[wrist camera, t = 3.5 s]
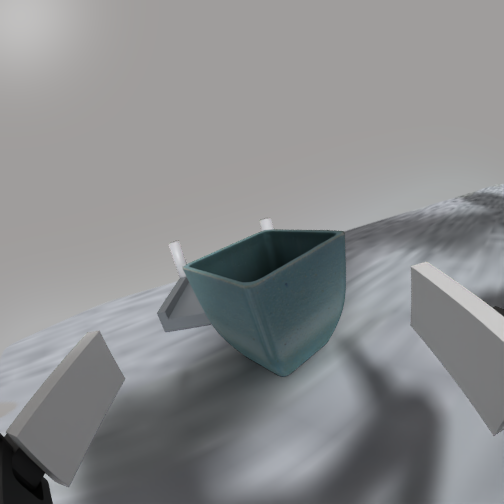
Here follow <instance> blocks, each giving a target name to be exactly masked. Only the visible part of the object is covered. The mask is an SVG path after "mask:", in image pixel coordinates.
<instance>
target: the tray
mask: <svg viewBox="0 0 504 504" xmlns="http://www.w3.org/2000/svg"><path fill="white" fill-rule="evenodd" d="M259 222H260V226H261V230H262V231H264V230H270V229H273V225H272V221H271V218H264V219H261V220H259ZM169 247H170V251H171V254H172V256H173V260H174V262H175V265H176V268H177V271H178V274H179V277H180V279H179V280H178V282H177V283H176V285H175V286H174V288H173V289H172V291H171V292H170V294H169V295H168V297H167V298H166V300H165V302H164V303H163V305H162V306H161V308H160V309H159V311H158V312H157V314H158V317H159V319H160V321H161V324H162V326H163V328H164V330H165V332H168V331H175V330H181V329H187V328H193V327H199V326H205V325H210V324H211V322H210V321H209V319H208V318H207V316H206V314H205V312H204V310H203V309H202V307H201V305H200V303H199V301H198V299H197V297H196V295H195V293H194V291H193V289H192V287H191V285H190V283H189V281H188V279H187V277H186V275H185V272H184V271H183V268H182V267H183V266H185V265H187V264H186V260H185V257H184V254H183V251H182V248H181V245H180V242H179V240H178V241H174V242H171V243H169Z"/></svg>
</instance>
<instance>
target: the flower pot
mask: <svg viewBox="0 0 504 504" xmlns="http://www.w3.org/2000/svg"><path fill="white" fill-rule="evenodd" d="M182 268H183V271H184V272H185V275H186V277H187V279H188V281H189V283H190V285H191V287H192V289H193V291H194V293H195V295H196V297H197V299H198V301H199V303H200V305H201V307H202V309H203V310H204V312H205V314H206V316H207V318H208V319H209V321H210V322H211V324H212V325H213V326H214V328H215V329H216V330H217V331H218V333H219V334H220V335H221V336H222V337H223V338H224V339H225V340H226V341H227V342H228V343H229V344H230V345H232V346H233V347H234V348H235V349H237V350H238V351H239V352H241V353H242V354H243V355H245V356H246V357H248V358H249V359H251V360H253V361H254V362H256V363H258V364H260V365H262V366H263V367H265V368H267V369H268V370H270V371H272V372H273V373H275V374H277V375H279V376H282V377H284V376H288V375H289V374H291V373H292V372H293V371H294V370H296V369H297V368H298V367H299V366H300V365H302V364H303V363H304V362H305V361H306V360H307V359H309V358H310V357H311V356H312V355H313V354H315V353H316V352H317V351H318V350H319V349H321V348H322V347H323V346H324V345H325V344H326V343H327V342H328V340H329V339H330V337H331V335H332V333H333V332H334V330H335V328H336V326H337V323H338V321H339V319H340V316H341V313H342V309H343V305H344V300H345V291H346V259H345V233H344V232H343V231H330V230H277V229H276V230H275V229H270V230H264V231H261V232H259V233H256V234H254V235H252V236H249V237H247V238H245V239H243V240H240V241H238V242H236V243H233V244H231V245H229V246H227V247H224V248H222V249H220V250H218V251H216V252H213V253H211V254H209V255H207V256H204V257H202V258H200V259H198V260H195V261H193V262H191V263H189V264H187V265H185V266H183V267H182Z"/></svg>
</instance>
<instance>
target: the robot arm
mask: <svg viewBox="0 0 504 504" xmlns="http://www.w3.org/2000/svg"><path fill="white" fill-rule="evenodd" d="M411 327H412V328H413V329H414V330H415V331H416V332H417V334H418V335H419V336H420V337H421V339H422V340H423V341H424V342H425V343H426V345H427V346H428V347H429V348H430V350H431V351H432V352H433V353H434V355H435V356H436V357H437V358H438V360H439V361H440V362H441V363H442V365H443V366H444V367H445V368H446V370H447V371H448V372H449V374H450V375H451V376H452V378H453V379H454V380H455V382H456V383H457V384H458V386H459V387H460V388H461V390H462V391H463V392H464V394H465V395H466V397H467V398H468V399H469V401H470V402H471V403H472V405H473V406H474V408H475V409H476V411H477V412H478V413H479V415H480V416H481V418H482V419H483V421H484V422H485V424H486V425H487V427H488V428H489V430H490V431H491V433H492V434H493V436H495V435H496V434H498V433H499V432H501V431H502V430H503V429H504V309H502V308H499V307H496V306H495V307H493V308H492V307H491V306H489V305H488V304H487V303H485V302H484V301H483V300H481V299H480V298H479V297H477V296H476V295H474V294H473V293H472V292H470V291H469V290H468V289H466V288H465V287H463V286H462V285H460V284H459V283H458V282H456V281H455V280H453V279H452V278H450V277H449V276H447V275H446V274H444V273H443V272H441V271H440V270H438V269H437V268H435V267H434V266H432V265H431V264H429V263H428V262H424V263H420V264H417V265H414V266H411ZM124 380H125V377H124V375H123V374H122V372H121V370H120V369H119V367H118V365H117V363H116V361H115V360H114V358H113V356H112V354H111V352H110V350H109V349H108V347H107V345H106V343H105V341H104V339H103V337H102V335H101V333H100V331H95V332H87V334H86V335H85V336H84V337H83V338H82V339H81V340H80V341H79V342H78V344H77V345H76V346H75V347H74V348H73V349H72V350H71V351H70V353H69V354H68V355H67V356H66V357H65V358H64V359H63V361H62V362H61V363H60V364H59V365H58V366H57V368H56V369H55V370H54V371H53V372H52V374H51V375H50V376H49V377H48V378H47V380H46V381H45V382H44V383H43V384H42V386H41V387H40V388H39V389H38V391H37V392H36V393H35V394H34V396H33V397H32V398H31V399H30V401H29V402H28V403H27V404H26V406H25V407H24V408H23V410H22V411H21V412H20V413H19V415H18V416H17V417H16V419H15V420H14V421H13V423H12V424H11V425H10V427H9V428H8V429H7V431H6V433H7V434H6V435H5V437H3V436H2V435H1V433H0V504H53V502H52V498H51V493H50V488H49V484H48V481H47V480H46V479H45V478H44V477H43V476H44V474H45V473H46V474H47V475H48V476H49V477H50V478H52V479H53V480H54V481H55V482H57V483H59V484H62V485H64V486H67V487H69V486H70V484H71V482H72V480H73V478H74V476H75V474H76V472H77V470H78V468H79V466H80V463H81V461H82V459H83V457H84V455H85V453H86V451H87V449H88V448H89V446H90V444H91V442H92V440H93V438H94V436H95V434H96V432H97V430H98V428H99V426H100V424H101V422H102V421H103V419H104V417H105V415H106V413H107V411H108V409H109V408H110V406H111V404H112V402H113V400H114V398H115V397H116V395H117V393H118V391H119V389H120V387H121V386H122V384H123V382H124Z"/></svg>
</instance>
